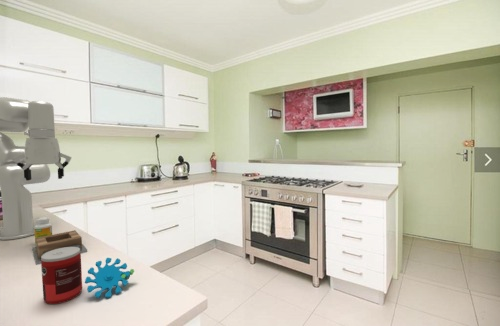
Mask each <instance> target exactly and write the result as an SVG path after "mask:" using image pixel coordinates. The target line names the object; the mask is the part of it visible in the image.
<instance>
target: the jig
mask: <svg viewBox="0 0 500 326" xmlns="http://www.w3.org/2000/svg"><path fill="white" fill-rule="evenodd" d="M82 238H83V237H82V236H81V235H80V234H79V233H78V232H77V230H76V229H75V230H70V231H65V232H60V233H53V234H52V235H49V236H43V237H38V238H36V244H35V247H36V250H37V253H38V256H39V258H41V256H42V255H43V252H45V251H49V250H53V249H58V248H62V247H66V246H71V245H75V244H79V245H80V249H81V248H82V244H83V240H82Z"/></svg>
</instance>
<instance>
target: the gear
mask: <svg viewBox="0 0 500 326" xmlns="http://www.w3.org/2000/svg"><path fill="white" fill-rule="evenodd" d="M111 262H112V258H111V257H106V258H105V265H104V266H103V267H101V265H102V260H98V261H96V262H95V266H96V267H97V270H98V271H97V272H95V268H94V267H92V266H91V267H90V268H88V270H87V274H88V275H92V276H93V277H94V279H92V278H91V276H86V277H85V279H84V284H89V283H93V284H95V285H88V286H87V290H86V291H87V293H91V292H93V291H94V290H96V289H99V288H100V289H101V290H97V291H95V292H94V296H95V298H98V299H99V297H101V295H102V293H103V292H105V290H108V291H107V292H106V293H105V294H104V298H106V299H108V298H111V297H112V289H113V288H114V287H115V288H116V289H115V292H114V293H115V294H116V295H117V294H120V293H122V288H121V287H120V285H119V283H120V282H121V283H122V284H121V285H122V286H123V287H125V286H127V284H128V283H129V279H130V277H131V276H132V275H133V274H134V272H135V270H134V269H133V268H131V269H130V270H127V271H123V270H126V269H127V268H128V265H127V263H126V262H125V263H122V262H121V260H120V258H116V259H115V260H114V262H113V263H112V264H110V263H111ZM120 263H122V264H121V265H120ZM109 264H110V265H109ZM116 265H120V266H116ZM120 269H121V270H120Z"/></svg>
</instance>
